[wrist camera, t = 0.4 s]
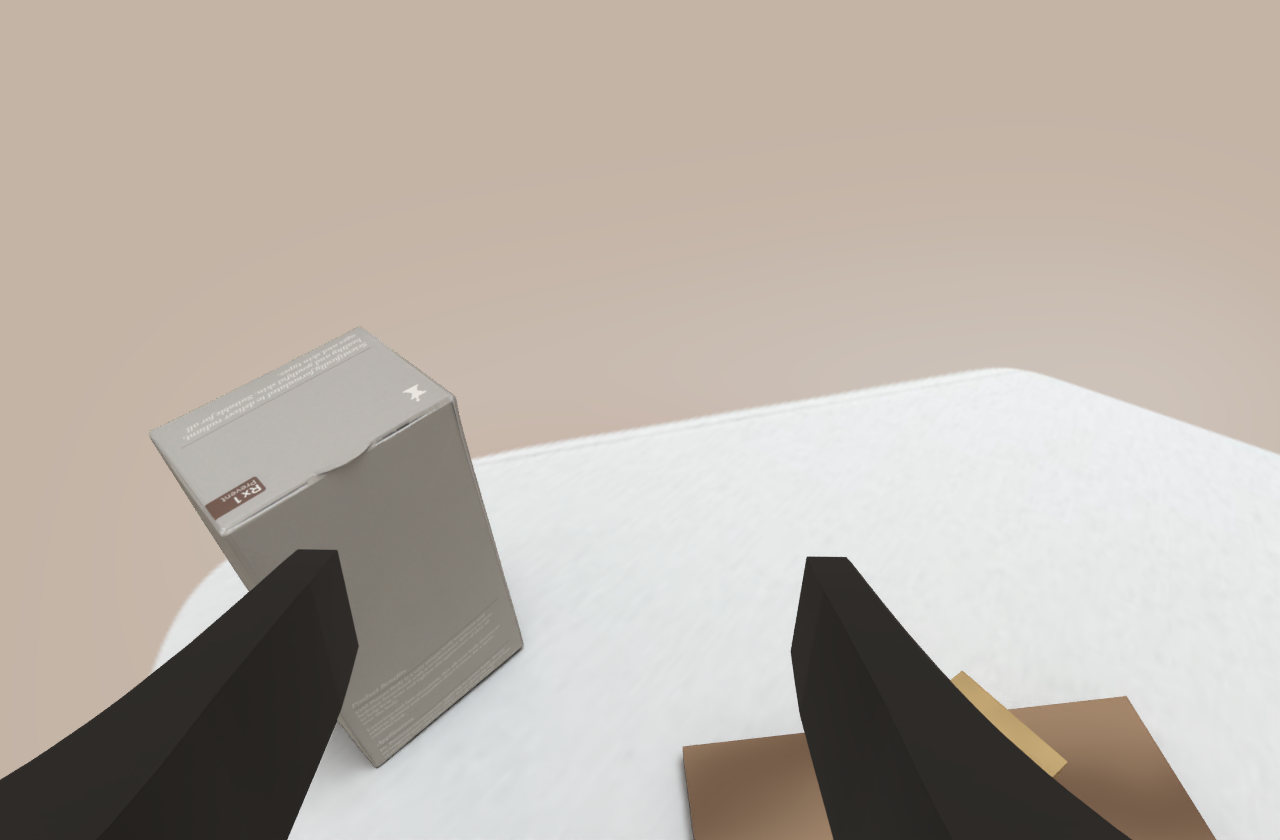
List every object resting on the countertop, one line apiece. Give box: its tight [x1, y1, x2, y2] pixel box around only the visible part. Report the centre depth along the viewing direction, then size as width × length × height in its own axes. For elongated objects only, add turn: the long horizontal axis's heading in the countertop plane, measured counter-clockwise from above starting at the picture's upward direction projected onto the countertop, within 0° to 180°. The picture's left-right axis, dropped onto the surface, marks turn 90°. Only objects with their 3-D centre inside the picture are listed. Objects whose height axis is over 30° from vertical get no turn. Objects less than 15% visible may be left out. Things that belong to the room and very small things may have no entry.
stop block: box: [950, 671, 1068, 780], centre depth 27 cm, size 4×4×5 cm
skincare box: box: [149, 327, 523, 767], centre depth 31 cm, size 8×7×16 cm
